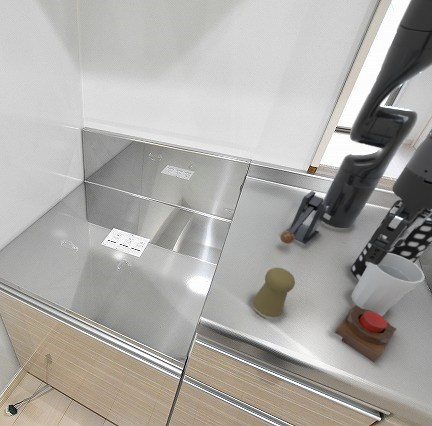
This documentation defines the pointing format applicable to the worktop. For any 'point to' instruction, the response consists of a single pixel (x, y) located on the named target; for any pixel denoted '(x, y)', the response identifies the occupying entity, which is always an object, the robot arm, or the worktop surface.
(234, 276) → the worktop surface
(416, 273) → the cup
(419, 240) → the white-spotted black cylinder
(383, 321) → the button
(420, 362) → the worktop surface
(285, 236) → the lever
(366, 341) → the button block
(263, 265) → the worktop surface
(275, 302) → the cork
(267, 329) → the worktop surface
